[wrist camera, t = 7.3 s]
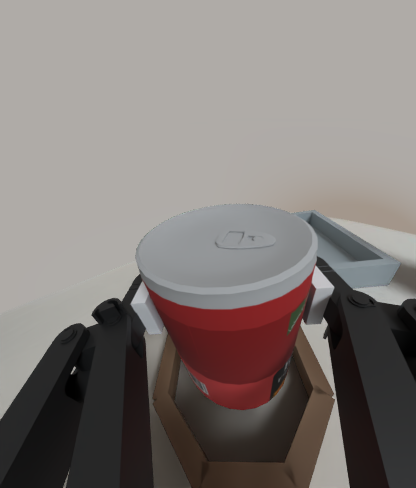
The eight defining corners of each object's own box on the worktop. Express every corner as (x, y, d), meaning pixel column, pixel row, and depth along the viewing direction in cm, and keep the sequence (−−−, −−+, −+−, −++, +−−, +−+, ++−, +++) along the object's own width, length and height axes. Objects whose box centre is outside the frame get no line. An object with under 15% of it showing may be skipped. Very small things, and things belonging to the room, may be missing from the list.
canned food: (304, 423, 9) (384, 294, 4) (174, 406, 11) (84, 295, 5) (274, 308, 16) (286, 196, 10) (195, 307, 17) (166, 209, 11)
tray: (243, 297, 22) (241, 278, 20) (230, 235, 37) (228, 221, 35) (388, 285, 20) (401, 263, 18) (311, 225, 35) (314, 209, 34)
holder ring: (142, 497, 10) (129, 495, 9) (179, 311, 22) (175, 301, 21) (373, 506, 9) (389, 506, 8) (282, 302, 20) (283, 291, 19)
